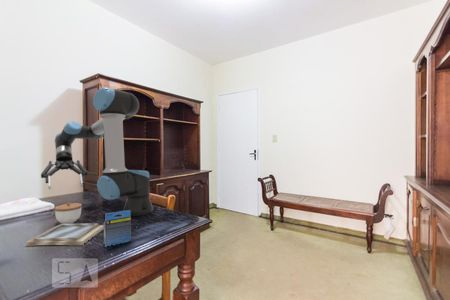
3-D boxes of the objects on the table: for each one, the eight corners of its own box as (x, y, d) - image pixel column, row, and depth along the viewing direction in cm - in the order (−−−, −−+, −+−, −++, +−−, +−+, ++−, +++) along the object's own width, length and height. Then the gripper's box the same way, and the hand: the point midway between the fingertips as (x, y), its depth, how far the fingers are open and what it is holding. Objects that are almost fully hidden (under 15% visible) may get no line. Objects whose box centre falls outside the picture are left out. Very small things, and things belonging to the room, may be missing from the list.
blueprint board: (104, 228, 101) (104, 222, 101) (82, 245, 84) (82, 238, 84) (57, 229, 100) (57, 223, 100) (25, 246, 83) (25, 239, 83)
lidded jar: (72, 226, 104) (71, 205, 104) (48, 225, 104) (48, 205, 104) (86, 218, 115) (86, 199, 115) (65, 218, 115) (65, 199, 115)
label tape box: (128, 238, 91) (128, 207, 90) (131, 241, 87) (130, 209, 87) (103, 243, 85) (103, 211, 85) (105, 247, 82) (105, 213, 82)
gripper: (88, 159, 139) (93, 187, 128) (35, 160, 124) (34, 193, 112) (90, 150, 135) (94, 179, 123) (35, 151, 119) (34, 184, 108)
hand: (66, 186), depth 118 cm, fingers open, 13 cm apart
